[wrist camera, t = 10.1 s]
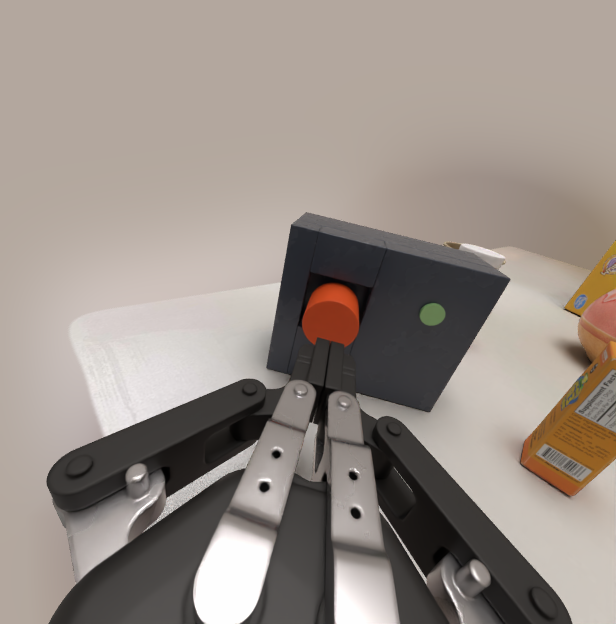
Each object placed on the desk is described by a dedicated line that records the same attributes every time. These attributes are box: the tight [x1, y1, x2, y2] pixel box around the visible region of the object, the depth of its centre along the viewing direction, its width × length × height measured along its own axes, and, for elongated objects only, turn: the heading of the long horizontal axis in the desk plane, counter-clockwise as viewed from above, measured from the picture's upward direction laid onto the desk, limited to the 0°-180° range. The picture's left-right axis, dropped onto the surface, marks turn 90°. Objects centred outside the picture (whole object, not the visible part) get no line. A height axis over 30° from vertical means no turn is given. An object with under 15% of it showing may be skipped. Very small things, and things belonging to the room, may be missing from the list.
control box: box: [266, 212, 510, 412], centre depth 22 cm, size 14×6×12 cm, turn 81°
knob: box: [302, 283, 359, 347], centre depth 19 cm, size 4×3×4 cm
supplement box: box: [521, 341, 616, 496], centre depth 18 cm, size 3×3×10 cm
